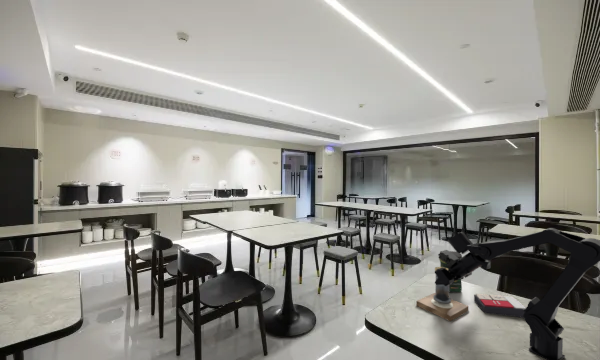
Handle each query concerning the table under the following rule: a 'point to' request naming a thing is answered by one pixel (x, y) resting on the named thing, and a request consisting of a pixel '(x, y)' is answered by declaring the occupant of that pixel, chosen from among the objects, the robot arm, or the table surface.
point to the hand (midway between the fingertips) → (439, 282)
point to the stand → (442, 307)
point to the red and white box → (499, 305)
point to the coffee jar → (456, 285)
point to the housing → (442, 292)
